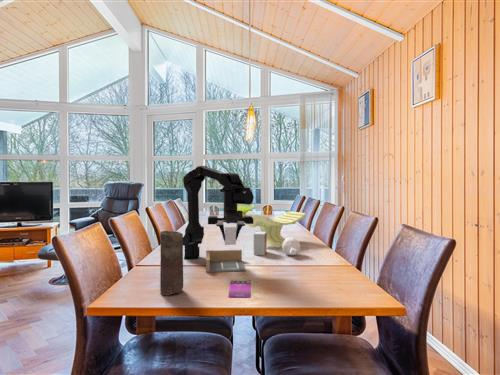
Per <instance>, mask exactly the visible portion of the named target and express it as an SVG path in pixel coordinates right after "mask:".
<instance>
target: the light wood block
mask: <svg viewBox="0 0 500 375" xmlns="http://www.w3.org/2000/svg"><path fill="white" fill-rule="evenodd" d="M224 233H225V241H224V240H223V243H224V245H225V246H234V245H235V246H236V244H237V241H236V226H225V227H224Z"/></svg>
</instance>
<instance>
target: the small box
mask: <svg viewBox="0 0 500 375" xmlns="http://www.w3.org/2000/svg"><path fill="white" fill-rule="evenodd" d="M266 253H267V232H261V231H256V232H255V233H253V255H255V256H265V255H266Z"/></svg>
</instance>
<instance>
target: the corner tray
mask: <svg viewBox="0 0 500 375" xmlns="http://www.w3.org/2000/svg"><path fill="white" fill-rule="evenodd" d="M242 257H243V251H242V249H215V250H214V249H212V250H209V249H208V250H206V251H205V273H207V274H208V273H229V272H230V273H231V272H246V271H247V270H246V267H245V264H244V263H243V260H242V259H243V258H242Z"/></svg>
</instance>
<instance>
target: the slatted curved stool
mask: <svg viewBox="0 0 500 375" xmlns="http://www.w3.org/2000/svg"><path fill="white" fill-rule="evenodd" d="M249 216H251V217H253V224H248V227H249V228H253V229H254V228H256V227H260V228H259V229H260V232H267V245H268V246H270V247H273V246H274V247H275V248H277V249H279V248H282V244H283V241H284V240H285V239H286V238H284V237H283V236H282V235H281V230H282V228H283V226H288V225H296V223H299V222H300V221H303V219H306V218H307V212H299V211H291V210H290V211H287V212H285V214H282V215H280V216H279V217H276V218H273V219H272V218H270V217H269V216H265V215H260V214H253V213H252V214H250V215H249Z"/></svg>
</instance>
